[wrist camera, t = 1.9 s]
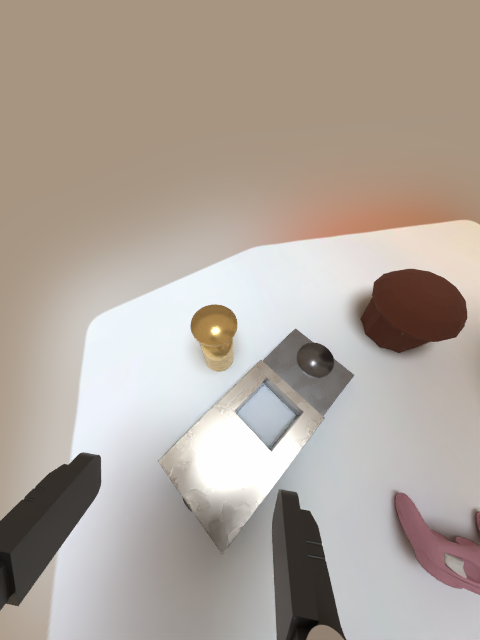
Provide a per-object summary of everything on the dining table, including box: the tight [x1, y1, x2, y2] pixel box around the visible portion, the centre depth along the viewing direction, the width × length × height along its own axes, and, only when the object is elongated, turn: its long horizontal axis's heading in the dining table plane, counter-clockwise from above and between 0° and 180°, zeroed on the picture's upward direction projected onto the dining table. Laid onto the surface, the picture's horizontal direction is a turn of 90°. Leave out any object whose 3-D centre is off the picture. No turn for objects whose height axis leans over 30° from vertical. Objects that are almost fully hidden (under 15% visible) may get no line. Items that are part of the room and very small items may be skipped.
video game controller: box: [396, 493, 480, 595], centre depth 21 cm, size 10×5×7 cm, turn 79°
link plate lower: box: [235, 329, 354, 451], centre depth 30 cm, size 17×10×2 cm, turn 135°
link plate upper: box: [158, 360, 324, 554], centre depth 26 cm, size 17×10×3 cm, turn 135°
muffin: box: [361, 269, 467, 353], centre depth 32 cm, size 12×11×10 cm
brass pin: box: [191, 305, 237, 371], centre depth 29 cm, size 5×5×10 cm
